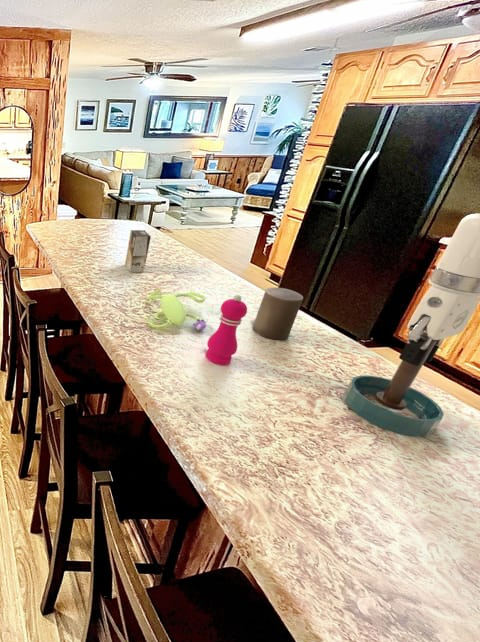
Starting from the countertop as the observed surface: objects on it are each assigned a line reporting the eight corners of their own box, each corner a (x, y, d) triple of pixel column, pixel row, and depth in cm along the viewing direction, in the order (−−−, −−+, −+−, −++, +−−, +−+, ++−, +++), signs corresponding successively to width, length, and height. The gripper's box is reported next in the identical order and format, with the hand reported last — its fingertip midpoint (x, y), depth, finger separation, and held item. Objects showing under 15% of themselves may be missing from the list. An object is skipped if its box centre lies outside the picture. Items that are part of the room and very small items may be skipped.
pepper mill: (210, 348, 113) (229, 287, 105) (236, 360, 108) (258, 296, 100) (198, 357, 109) (217, 294, 100) (225, 369, 104) (247, 304, 95)
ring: (366, 389, 98) (376, 370, 95) (444, 432, 85) (459, 411, 82) (325, 402, 93) (335, 382, 90) (402, 450, 80) (416, 428, 78)
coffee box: (144, 272, 166) (151, 236, 159) (129, 271, 166) (136, 236, 159) (138, 264, 174) (145, 230, 167) (124, 264, 174) (130, 229, 167)
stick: (383, 393, 89) (418, 329, 82) (410, 407, 85) (449, 341, 77) (369, 397, 88) (404, 333, 80) (396, 412, 83) (435, 346, 76)
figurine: (201, 303, 140) (205, 289, 137) (209, 340, 117) (214, 324, 115) (147, 295, 146) (150, 281, 143) (145, 328, 123) (148, 313, 120)
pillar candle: (286, 344, 116) (304, 299, 110) (249, 333, 122) (265, 290, 115) (288, 331, 123) (306, 288, 117) (253, 321, 129) (268, 280, 122)
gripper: (462, 294, 68) (412, 379, 76) (511, 282, 73) (460, 362, 81) (409, 278, 74) (368, 358, 82) (458, 268, 79) (415, 344, 87)
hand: (414, 359), depth 81 cm, fingers closed on stick, 3 cm apart
